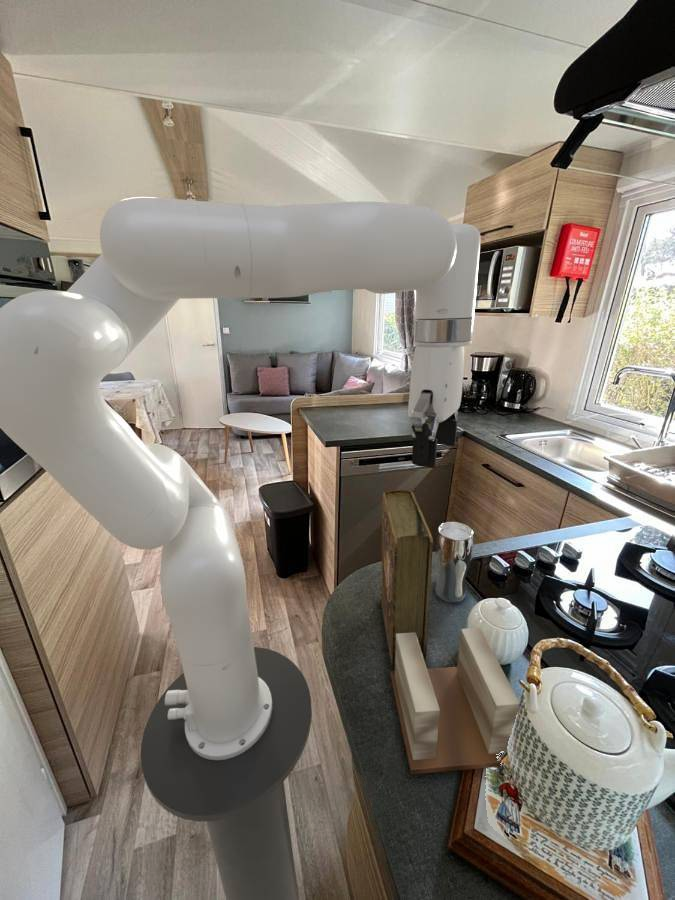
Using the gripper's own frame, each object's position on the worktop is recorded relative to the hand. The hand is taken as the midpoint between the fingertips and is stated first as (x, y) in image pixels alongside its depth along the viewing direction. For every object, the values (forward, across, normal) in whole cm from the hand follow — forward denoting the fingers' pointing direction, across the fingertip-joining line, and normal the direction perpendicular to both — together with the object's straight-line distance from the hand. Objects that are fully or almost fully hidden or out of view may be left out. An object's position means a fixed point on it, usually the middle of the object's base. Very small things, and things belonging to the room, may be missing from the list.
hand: (434, 454), depth 56 cm
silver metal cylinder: (+36, -14, +1) cm, 39 cm away
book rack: (+36, +12, +8) cm, 38 cm away
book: (+36, 0, -4) cm, 36 cm away
